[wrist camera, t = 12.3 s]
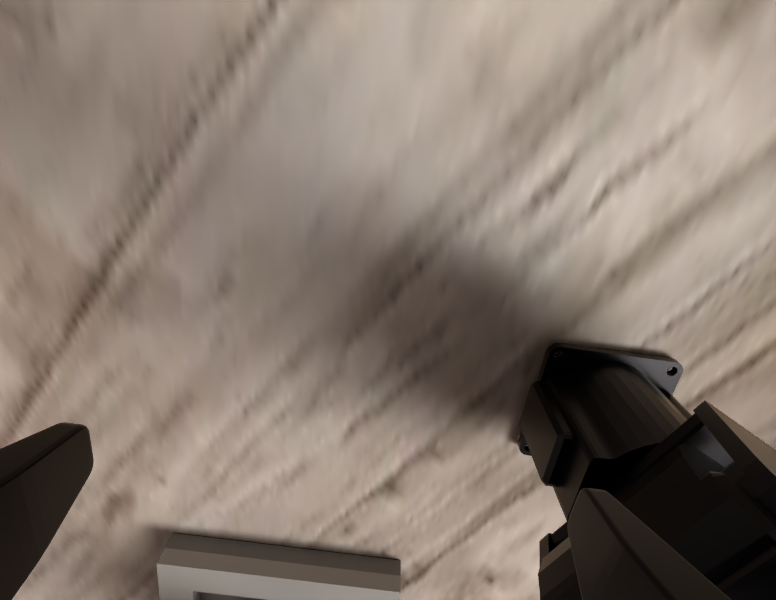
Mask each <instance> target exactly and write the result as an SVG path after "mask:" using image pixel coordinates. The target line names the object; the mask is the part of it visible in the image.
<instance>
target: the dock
mask: <svg viewBox="0 0 776 600" xmlns="http://www.w3.org/2000/svg"><path fill="white" fill-rule="evenodd" d="M156 564H157V575H158V586H159V597H160V600H399V597H400V560H393V559H385V558H376V557H368V556H360V555H351V554H343V553H335V552H326V551H318V550H310V549H301V548H293V547H285V546H277V545H268V544H260V543H252V542H243V541H235V540H227V539H218V538H210V537H202V536H193V535H185V534H177V533H173V534H172V536H171V538H170V540H169V541H168V543H167V545H166V547H165V549H164V551H163V552H162V554H161V556H160V558H159V560H158V562H157V563H156Z"/></svg>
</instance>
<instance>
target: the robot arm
mask: <svg viewBox="0 0 776 600" xmlns="http://www.w3.org/2000/svg"><path fill="white" fill-rule="evenodd" d="M560 351H561V352H562V353H561V355H560V356H557V357H554V355H555V353H557V352H560ZM671 367H673V368H672V369H671V370H670V371H667V370H668V369H669V368H671ZM682 372H683V367H682V365H681V364H680V363H678V362H677V361H676V360H675V359H672V358H666V357H659V356H652V355H644V354H637V353H630V352H622V351H615V350H608V349H600V348H593V347H585V346H578V345H571V344H563V343H554V344H552V345H550V346H549V347H548V349H547V350H546V353H545V357H544V360H543V363H542V366H541V369H540V373H539V376H538V379H537V381H535V382H534V383H533V384H532V385H531V388H530V391H529V394H528V397H527V400H526V404H525V407H524V410H523V413H522V417H521V420H520V427H521V429H522V430H521V433H520V436H519V439H518V446H519V449H520V451H521V452H522V453H523V454H525V455H531V456H532V458H533V460H534V463H535V466H536V468H537V471H538V473H539V476H540V479H541V480H542V482H543V483H544V484H545V486H553V488H554V491H555V493H556V495H557V498H558V500H559V503H560V505H561V508H562V510H563V513H564V515H565V517H566V520H567V522H566V523H565V524H564V525H562V526H561V527H560V528H559V529H558V530H556V531H555V532H554V533H553V534H551V533H549V534H547V535H546V536H545V537H544V538H543V539H541V540H540V569H539V573H538V577H539V587H540V600H776V450H775V449H773V448H772V447H770V446H769V445H767V444H766V443H765V442H763V441H762V440H760V439H759V438H758V437H756V436H755V435H753V434H752V433H751V432H749V431H748V430H746V429H745V428H744V427H742V426H741V425H739V424H738V423H737V422H735V421H734V420H732V419H731V418H729V417H728V416H727V415H725V414H724V413H722V412H721V411H720V410H718V409H717V408H715V407H714V406H713V405H711V404H710V403H708V402H707V401H704V402H702V403H701V404H700V405H699V406H698V407H697V408H695V409H694V410H693V411H694V412H695V414H693V415H691V414H690V413H689V412H688V411H687V410H686V409H685V408H684V407H683V406H682V405H681V404H680V403H679V402H678V401H677V400H676V399H675V398H674V397H673V396H672V394H673V392H674V390H675V388H676V386H677V383H678V381H679V379H680V377H681V375H682ZM525 445H528V446H525ZM92 468H93V453H92V447H91V440H90V434H89V430H88V428H87V427H86V426H84V425H81V424H73V423H59V424H56V425H54V426H51V427H49V428H47V429H45V430H42V431H40V432H38V433H35V434H33V435H31V436H29V437H26V438H24V439H22V440H19V441H17V442H15V443H13V444H10V445H8V446H6V447H4V448H1V449H0V600H12V598H13V597H14V596H15V594H16V593H17V591H18V590H19V588H20V587H21V586H22V584H23V583H24V581H25V580H26V579H27V577H28V576H29V574H30V573H31V572H32V570H33V569H34V567H35V566H36V564H37V563H38V561H39V560H40V558H41V557H42V555H43V553H44V552H45V550H46V549H47V547H48V545H49V544H50V542H51V540H52V539H53V537H54V535H55V534H56V532H57V530H58V528H59V527H60V525H61V523H62V522H63V520H64V518H65V516H66V515H67V513H68V511H69V510H70V508H71V506H72V504H73V503H74V501H75V499H76V498H77V496H78V494H79V492H80V491H81V489H82V487H83V486H84V484H85V482H86V480H87V479H88V477H89V475H90V473H91V471H92Z"/></svg>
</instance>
